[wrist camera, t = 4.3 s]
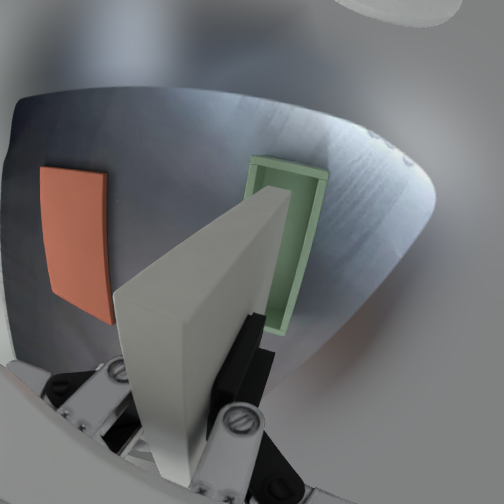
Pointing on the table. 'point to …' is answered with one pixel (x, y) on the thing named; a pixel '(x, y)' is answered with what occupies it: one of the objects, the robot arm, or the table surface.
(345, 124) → the table surface
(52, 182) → the mat
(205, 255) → the board
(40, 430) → the robot arm
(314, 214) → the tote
